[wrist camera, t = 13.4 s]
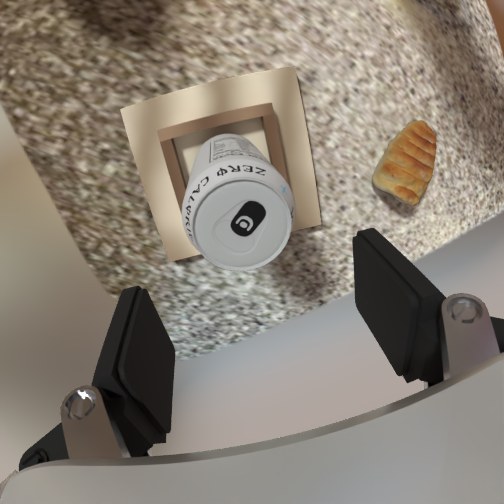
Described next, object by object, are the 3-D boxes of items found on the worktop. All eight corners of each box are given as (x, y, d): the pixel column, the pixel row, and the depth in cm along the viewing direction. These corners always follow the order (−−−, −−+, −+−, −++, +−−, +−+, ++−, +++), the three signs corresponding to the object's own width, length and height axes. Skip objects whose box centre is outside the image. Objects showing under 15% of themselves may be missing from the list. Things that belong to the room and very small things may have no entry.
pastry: (397, 107, 29) (417, 110, 25) (438, 136, 31) (459, 142, 27) (364, 183, 32) (381, 194, 29) (407, 205, 34) (425, 217, 31)
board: (291, 67, 26) (298, 64, 24) (317, 220, 33) (326, 230, 31) (123, 108, 26) (115, 109, 23) (170, 256, 33) (168, 269, 31)
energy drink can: (181, 173, 28) (155, 243, 15) (220, 119, 26) (228, 138, 13) (234, 207, 30) (254, 300, 17) (273, 157, 29) (328, 213, 15)
